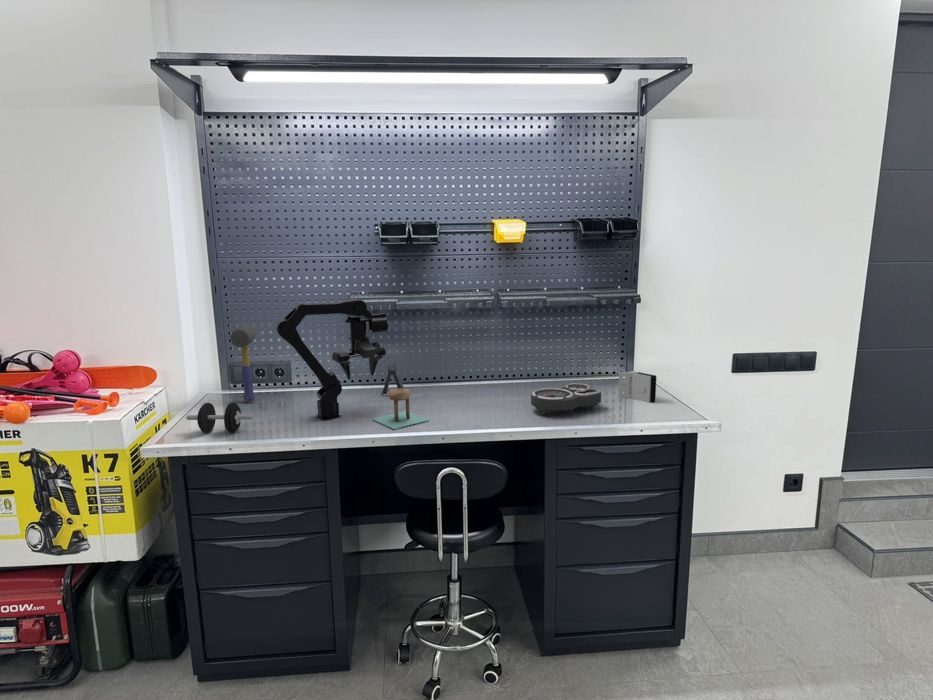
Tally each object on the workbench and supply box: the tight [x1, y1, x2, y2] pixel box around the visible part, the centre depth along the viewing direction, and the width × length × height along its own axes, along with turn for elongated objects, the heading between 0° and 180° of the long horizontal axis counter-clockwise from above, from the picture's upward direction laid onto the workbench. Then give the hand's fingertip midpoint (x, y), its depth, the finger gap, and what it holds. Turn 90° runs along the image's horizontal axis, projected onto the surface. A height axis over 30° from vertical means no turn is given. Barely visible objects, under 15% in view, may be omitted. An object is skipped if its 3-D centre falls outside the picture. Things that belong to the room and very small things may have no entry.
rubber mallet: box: [230, 324, 257, 404], centre depth 219 cm, size 12×8×30 cm, turn 8°
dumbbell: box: [185, 401, 254, 434], centre depth 186 cm, size 22×10×10 cm, turn 88°
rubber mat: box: [372, 410, 430, 430], centre depth 195 cm, size 14×14×1 cm
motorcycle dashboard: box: [530, 382, 602, 417], centre depth 204 cm, size 26×16×7 cm, turn 120°
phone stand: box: [381, 362, 405, 396], centre depth 230 cm, size 9×6×12 cm, turn 91°
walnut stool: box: [388, 388, 411, 422], centre depth 194 cm, size 7×7×10 cm
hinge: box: [617, 370, 657, 404], centre depth 216 cm, size 14×5×10 cm, turn 51°
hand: (360, 377), depth 204 cm, fingers open, 9 cm apart
